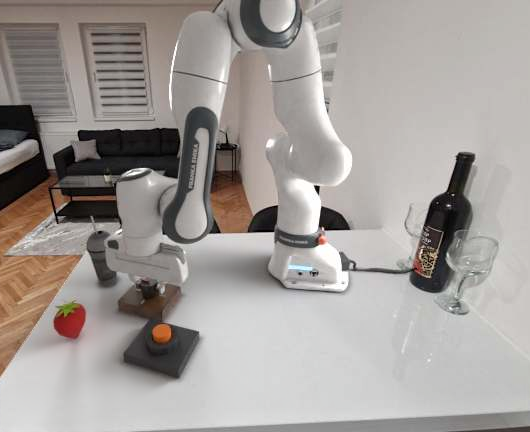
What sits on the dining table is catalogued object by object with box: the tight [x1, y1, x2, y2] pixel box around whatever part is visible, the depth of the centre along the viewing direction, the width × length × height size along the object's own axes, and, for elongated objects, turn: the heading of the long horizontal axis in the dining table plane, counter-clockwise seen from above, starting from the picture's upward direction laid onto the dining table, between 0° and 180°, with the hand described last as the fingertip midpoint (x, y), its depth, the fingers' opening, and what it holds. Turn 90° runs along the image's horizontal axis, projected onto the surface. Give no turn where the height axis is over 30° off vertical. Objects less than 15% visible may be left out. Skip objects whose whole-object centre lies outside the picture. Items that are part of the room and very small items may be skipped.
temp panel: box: [117, 277, 182, 322], centre depth 75 cm, size 12×10×3 cm
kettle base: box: [123, 319, 201, 379], centre depth 62 cm, size 12×10×4 cm
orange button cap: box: [152, 324, 171, 344], centre depth 61 cm, size 4×4×2 cm
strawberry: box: [52, 299, 87, 340], centre depth 64 cm, size 6×8×10 cm
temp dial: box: [140, 277, 158, 298], centre depth 74 cm, size 4×4×4 cm
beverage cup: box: [85, 215, 118, 288], centre depth 80 cm, size 7×7×20 cm
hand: (149, 289), depth 74 cm, fingers open, 5 cm apart
